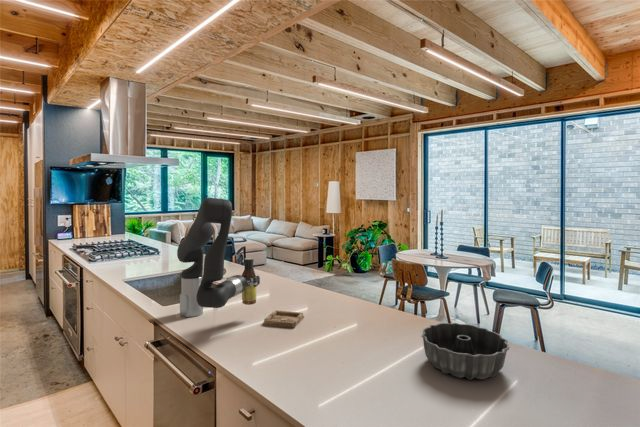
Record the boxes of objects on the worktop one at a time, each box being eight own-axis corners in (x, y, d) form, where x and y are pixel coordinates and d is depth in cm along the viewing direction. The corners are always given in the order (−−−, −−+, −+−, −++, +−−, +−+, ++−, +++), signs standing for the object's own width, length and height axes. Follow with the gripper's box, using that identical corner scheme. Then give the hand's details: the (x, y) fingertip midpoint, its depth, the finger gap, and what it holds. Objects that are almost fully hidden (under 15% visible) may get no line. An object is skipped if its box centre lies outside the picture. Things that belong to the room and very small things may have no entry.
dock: (294, 328, 153) (294, 323, 153) (263, 324, 157) (263, 320, 156) (304, 317, 167) (304, 312, 167) (275, 314, 170) (275, 310, 170)
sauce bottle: (259, 302, 165) (260, 258, 163) (250, 306, 159) (251, 260, 158) (246, 300, 167) (248, 256, 166) (238, 303, 162) (239, 258, 161)
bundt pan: (503, 397, 102) (504, 362, 102) (410, 372, 116) (411, 341, 116) (511, 361, 125) (513, 332, 124) (433, 344, 139) (433, 317, 138)
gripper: (250, 278, 147) (266, 270, 163) (217, 275, 150) (236, 267, 166) (249, 297, 147) (266, 286, 163) (217, 293, 151) (236, 284, 167)
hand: (251, 277), depth 165 cm, fingers closed on sauce bottle, 6 cm apart
